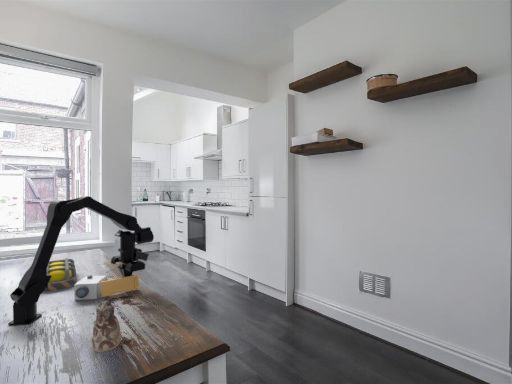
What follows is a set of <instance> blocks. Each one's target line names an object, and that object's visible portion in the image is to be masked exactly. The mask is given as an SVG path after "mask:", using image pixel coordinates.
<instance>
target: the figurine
mask: <svg viewBox="0 0 512 384" xmlns="http://www.w3.org/2000/svg"><path fill="white" fill-rule="evenodd" d="M112 301H113V298H112V297H108V298H107V300H104V301H100V303H98V305H97V307H96V308H95V312H96V317H95V320H94V321H93V330H92V337H91V338H92V339H91V345H92V350H93V352H98V353H102V352H107V351H110V350H111V351H112V350H113V349H115V348H117V347H118V346H119V345H120V343H121V341H122V332H121V326H120V322H119V319H118V317H117V316H116V315H115V306H114V305H112Z"/></svg>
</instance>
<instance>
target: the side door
mask: <svg viewBox="0 0 512 384" xmlns="http://www.w3.org/2000/svg"><path fill="white" fill-rule="evenodd" d="M139 280H140V279H139V275H138V274H132V276H127V277H123V276H122V277H118V278H114V279H113V278H112V279H107V281H102V282H101V286H100V282H98V283H97V284H98V298H97V299H98V300H99V299H101V298H104V297H108V296H113V295H117V294H121V293H125V292H130V291H134V290H138V289H139V288H140V286H139V285H140V283H139V282H140V281H139Z"/></svg>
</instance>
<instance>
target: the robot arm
mask: <svg viewBox="0 0 512 384" xmlns="http://www.w3.org/2000/svg"><path fill="white" fill-rule="evenodd" d="M85 208H86V209H87V210H89V211H92V212H93V213H95V214H97V215H99V216H102V217H104V218H105V219H107V220H110V221H111V222H112V223H113V224H114V225H115V226H117V227H118V228H119V230H118V231H117V232H116V233H114V236H115V237H118V238H119V243H120V245H119V247H120V248H118V249H117V251H118V252H119V253H120V254H119V255H115V256H114V255H113V256H112V257H111V259H110V263H111V265H116V263H118V264H119V265H118V266H117V269H118V270H119V272H120V274H121V276H122V277H127V276H132V275H133V273H134V272H138V271H143V270H146V263H145V262H147V261H148V258H149V256H150V253H147V252H145V251H143V250H142V249H141V248H138V247H136V244H137V245H142V244H149V243H153V241H154V238H155V237H154V232H153V231H152V229H151V227H149V226H146V227H141V226H140V224H139V223H138V219H137V217H135V216H133V215H131V214H127V213H123V212H119V211H117V210H115V209H113V208H111V207H109V206H107V205H106V204H104V203H102V202H100V201H98V200H96V199H94V198H93V197H91V196H89V195H85V196H83V195H82V196H80V197H77V198H72V199H68V200H67V199H66V200H62V199H61V200H60V199H59V200H54V201H51V202H50V203H49V204H48V206H47V211H46V225H45V229H44V231H43V234H42V236H41V239H40V243H39V245H38V247H37V250H36V252H35V254H34V258H33V260H32V262H31V263H32V264H31V265H30V267H29V268H28V269H27V270H26V271H25V272H24V274H23V276H22V278H21V279H20V280H19V283H18V286H17V287H16V288H15V289H14V290H13V291H12V292H11V293H10V294H9V296H10V299H11V301H13V304H12V314H13V315H12V317H13V319H12V320H10V321H9V322H8V323H7V325H8V326H14V325H15V326H16V325H30V324H31V323H33V322H34V321H36V320H37V319H39V318H40V317H41V316H42V315H43V314H42V313H38V307H37V304H38V301H39V299H40V297H41V295H42V294H43V293H45V292H44V290H45V287H46V288H48V282H49V280H50V279H51V275H49V274H47V267H48V264H49V261H51V257H52V255H53V252H54V249H55V247H56V244H57V241H58V238H59V235H60V233H61V231H62V228H63V227H64V226H65V224H66V223H67V222H68V221H69V219H70V217H71V216H72V214H73V213H75V212H79V211H80V210H83V209H85ZM123 230H126V231H123ZM131 231H132V232H131ZM141 260H142V261H141Z"/></svg>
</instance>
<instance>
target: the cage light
mask: <svg viewBox="0 0 512 384" xmlns="http://www.w3.org/2000/svg"><path fill="white" fill-rule="evenodd" d="M47 274H49V275H51V279H50V280H49V282H48V288H46V287H45V290H44V292H43V293H45V292H56V291H60V290H65V289H68V288H71V287H74V284H76V283H77V271H76V264H75V260H74V259H73V258H67V257H65V258H64V259H57V260H50V261H49V264H48V267H47Z"/></svg>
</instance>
